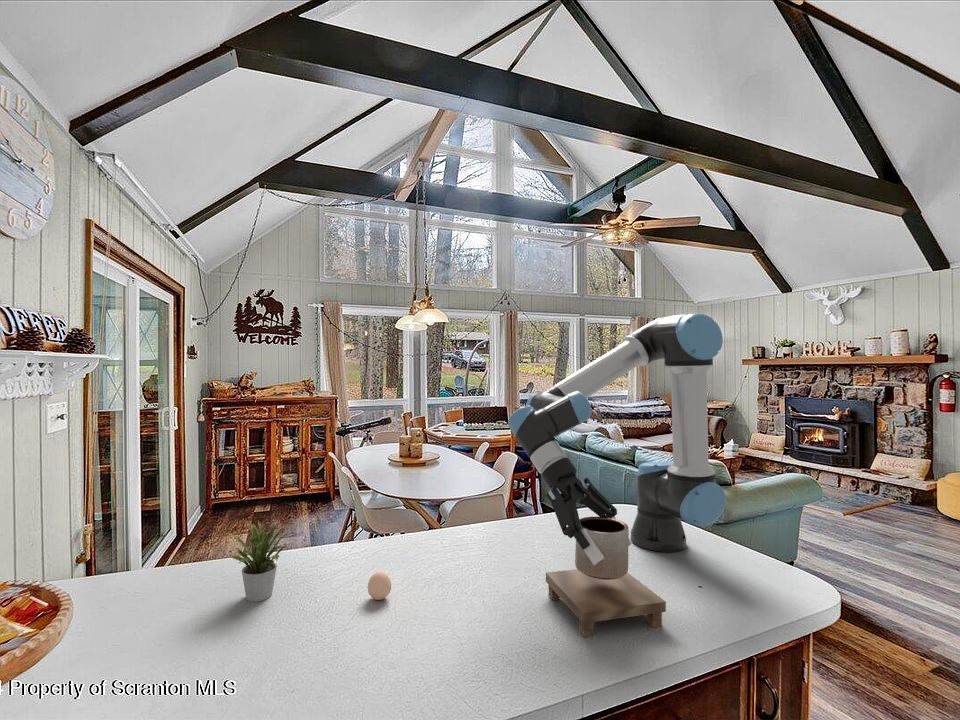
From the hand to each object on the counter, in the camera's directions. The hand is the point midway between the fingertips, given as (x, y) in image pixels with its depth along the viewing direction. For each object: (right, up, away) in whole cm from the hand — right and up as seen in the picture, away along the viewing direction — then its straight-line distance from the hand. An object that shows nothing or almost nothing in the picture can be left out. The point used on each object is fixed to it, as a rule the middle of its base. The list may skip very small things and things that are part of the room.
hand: (614, 554), depth 104 cm
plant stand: (-2, -13, +2) cm, 13 cm away
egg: (-50, -12, +6) cm, 51 cm away
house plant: (-75, -12, +6) cm, 76 cm away
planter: (-2, -4, +2) cm, 5 cm away
